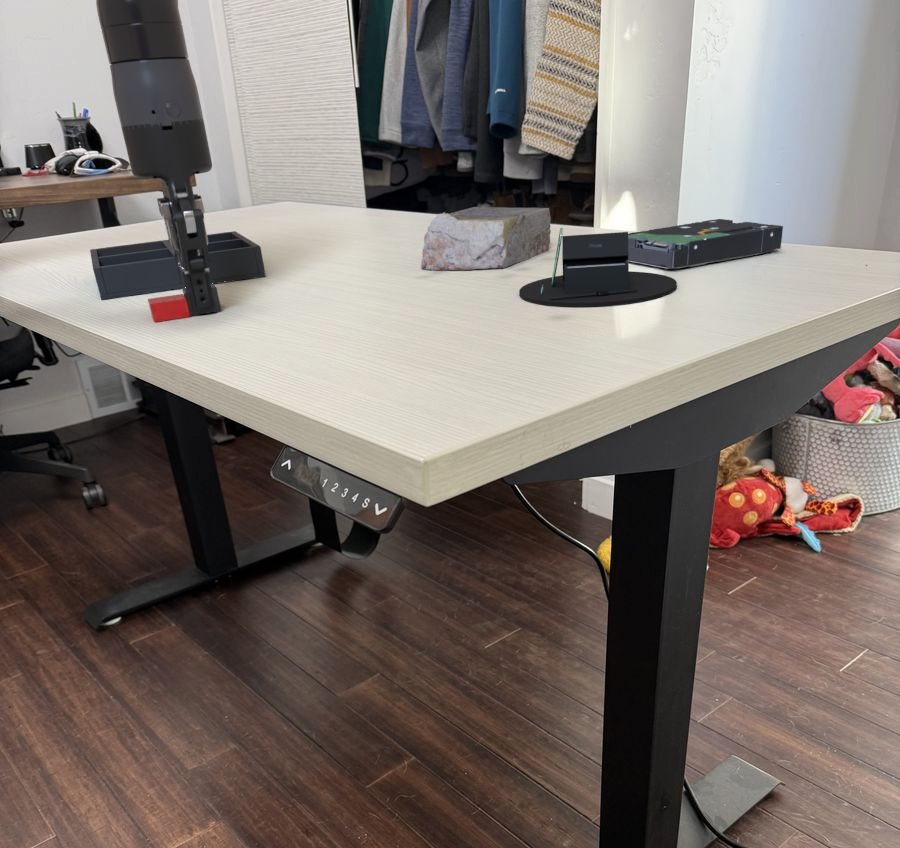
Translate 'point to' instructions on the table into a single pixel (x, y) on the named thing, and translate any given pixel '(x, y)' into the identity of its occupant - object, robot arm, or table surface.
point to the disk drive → (702, 243)
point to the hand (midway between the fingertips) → (202, 309)
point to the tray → (171, 265)
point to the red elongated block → (177, 306)
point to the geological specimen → (485, 238)
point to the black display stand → (596, 275)
